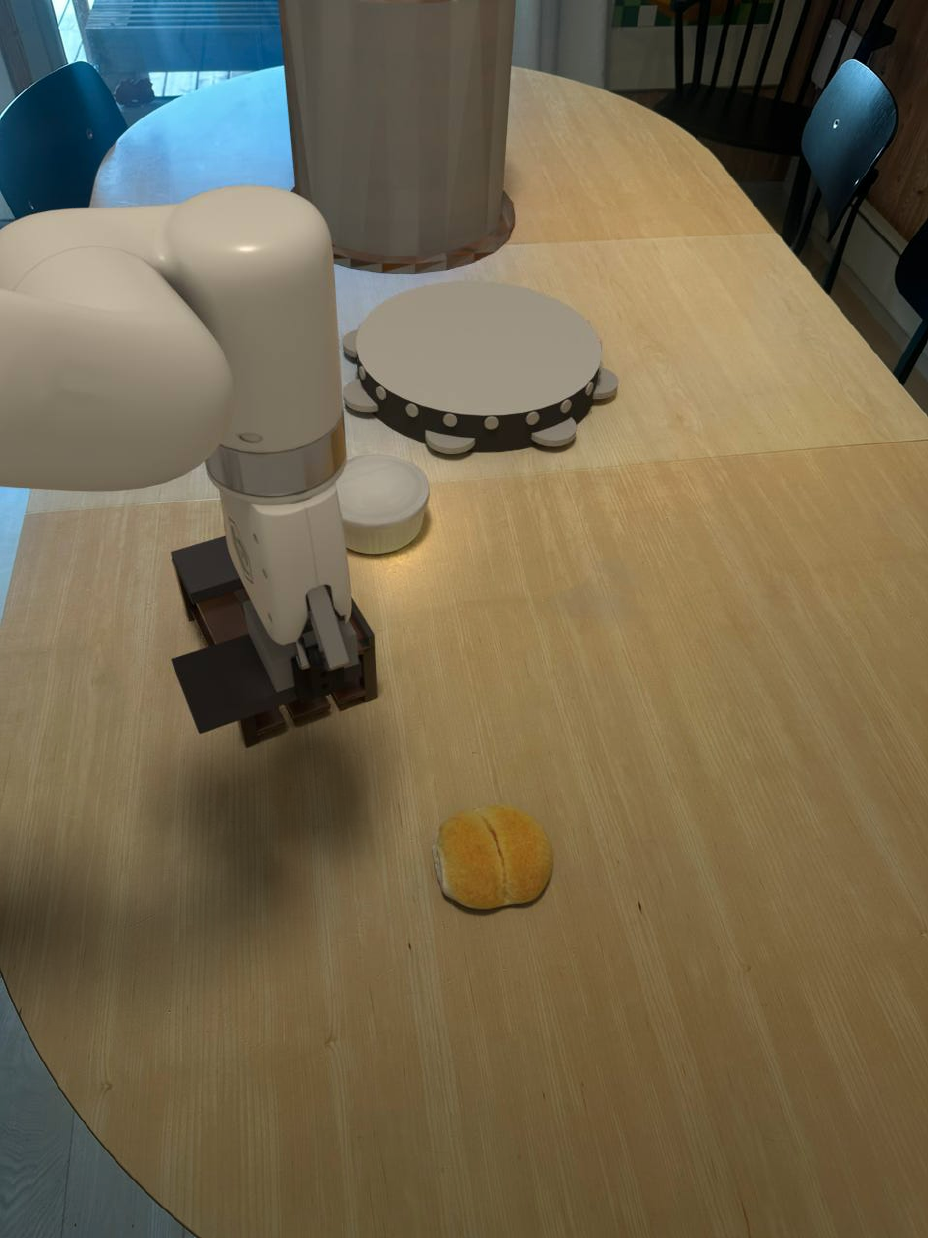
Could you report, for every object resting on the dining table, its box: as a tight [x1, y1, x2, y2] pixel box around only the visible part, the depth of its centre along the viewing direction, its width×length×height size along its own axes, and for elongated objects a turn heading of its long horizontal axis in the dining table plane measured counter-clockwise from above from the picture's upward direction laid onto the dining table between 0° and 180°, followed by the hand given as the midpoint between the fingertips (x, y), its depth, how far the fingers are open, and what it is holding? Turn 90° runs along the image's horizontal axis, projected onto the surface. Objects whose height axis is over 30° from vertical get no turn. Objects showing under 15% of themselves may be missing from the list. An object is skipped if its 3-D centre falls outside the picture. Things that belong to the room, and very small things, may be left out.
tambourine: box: [342, 280, 619, 455], centre depth 116 cm, size 34×33×5 cm
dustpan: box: [171, 600, 362, 735], centre depth 62 cm, size 11×6×4 cm, turn 117°
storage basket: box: [277, 0, 517, 274], centre depth 135 cm, size 35×35×32 cm
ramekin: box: [336, 452, 431, 555], centre depth 98 cm, size 11×11×5 cm
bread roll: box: [432, 803, 554, 910], centre depth 73 cm, size 8×9×4 cm
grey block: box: [170, 534, 245, 605], centre depth 83 cm, size 11×6×4 cm, turn 118°
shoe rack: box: [171, 558, 379, 748], centre depth 84 cm, size 12×17×8 cm
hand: (303, 656), depth 64 cm, fingers closed on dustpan, 5 cm apart
